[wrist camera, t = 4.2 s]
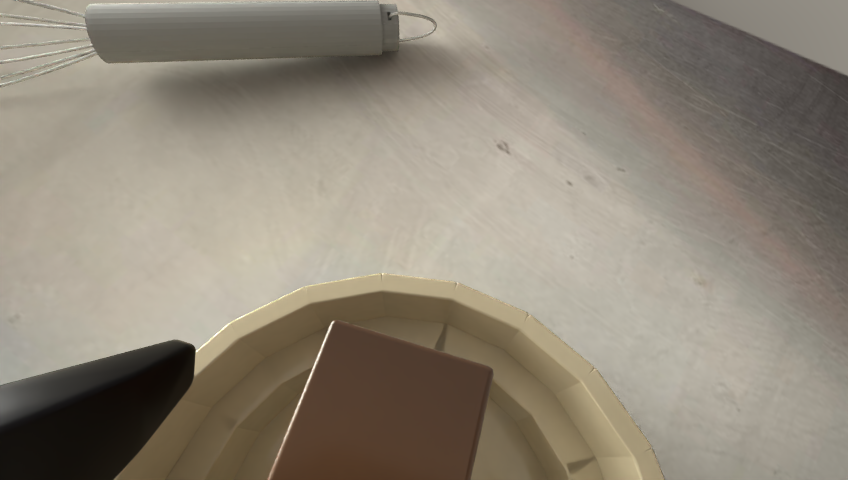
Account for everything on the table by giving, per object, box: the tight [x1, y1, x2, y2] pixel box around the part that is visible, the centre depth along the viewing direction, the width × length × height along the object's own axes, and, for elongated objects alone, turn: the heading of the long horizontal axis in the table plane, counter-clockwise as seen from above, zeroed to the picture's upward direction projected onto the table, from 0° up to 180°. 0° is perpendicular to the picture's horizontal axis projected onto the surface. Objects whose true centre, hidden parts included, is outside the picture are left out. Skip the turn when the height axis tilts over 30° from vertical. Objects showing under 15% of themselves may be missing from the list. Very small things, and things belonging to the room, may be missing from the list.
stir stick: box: [267, 320, 494, 480], centre depth 11 cm, size 2×2×11 cm
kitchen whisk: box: [0, 0, 437, 87], centre depth 21 cm, size 6×34×6 cm, turn 99°
